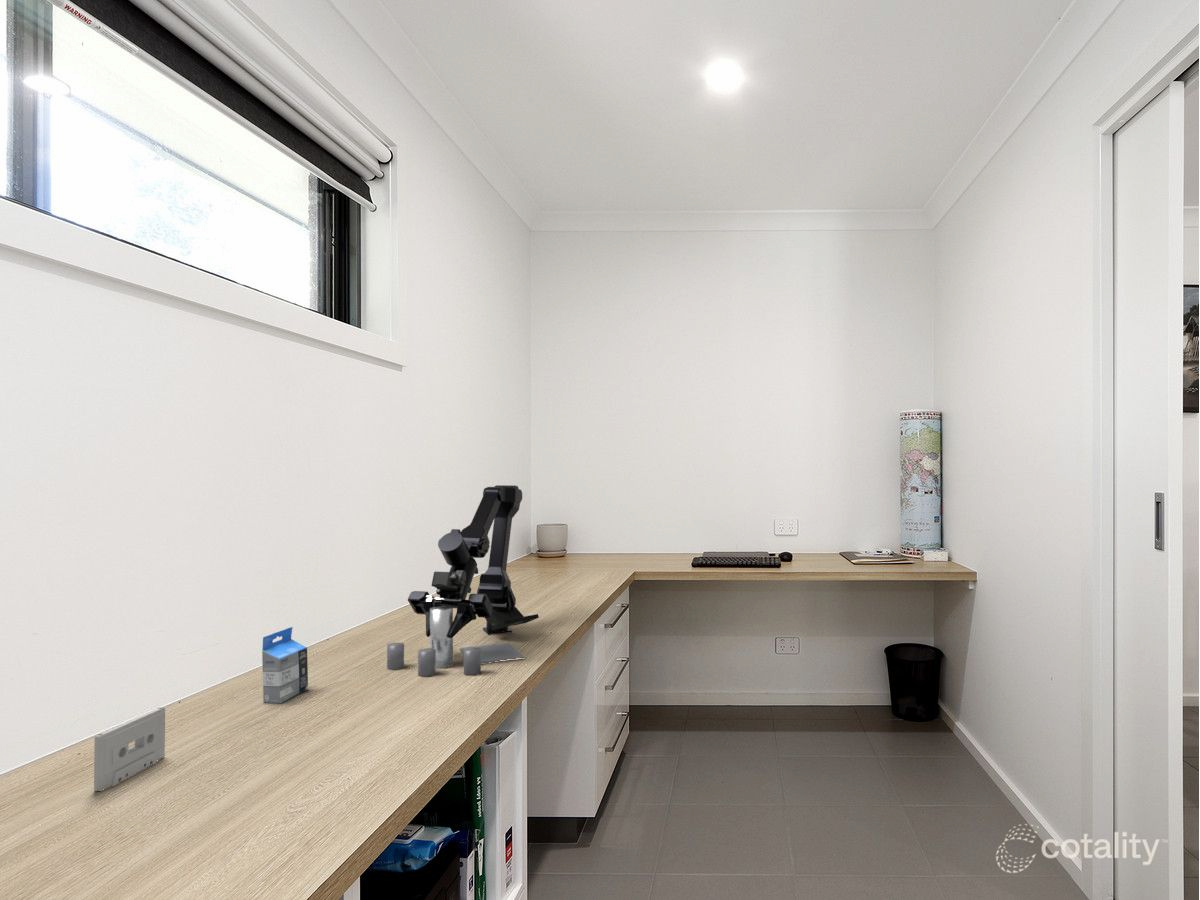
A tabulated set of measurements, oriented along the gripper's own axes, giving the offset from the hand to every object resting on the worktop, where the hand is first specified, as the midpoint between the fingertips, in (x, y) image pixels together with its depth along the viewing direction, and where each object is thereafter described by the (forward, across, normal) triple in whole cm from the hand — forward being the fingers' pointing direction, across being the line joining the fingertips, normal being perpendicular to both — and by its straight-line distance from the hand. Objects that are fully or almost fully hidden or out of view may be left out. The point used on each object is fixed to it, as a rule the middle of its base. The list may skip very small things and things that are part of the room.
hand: (438, 636), depth 158 cm
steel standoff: (+4, 0, +6) cm, 7 cm away
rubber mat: (-4, +8, +14) cm, 16 cm away
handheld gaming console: (-18, +7, +23) cm, 30 cm away
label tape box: (+22, -20, -13) cm, 32 cm away
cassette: (+47, -19, -38) cm, 63 cm away
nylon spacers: (+8, 0, +2) cm, 8 cm away
